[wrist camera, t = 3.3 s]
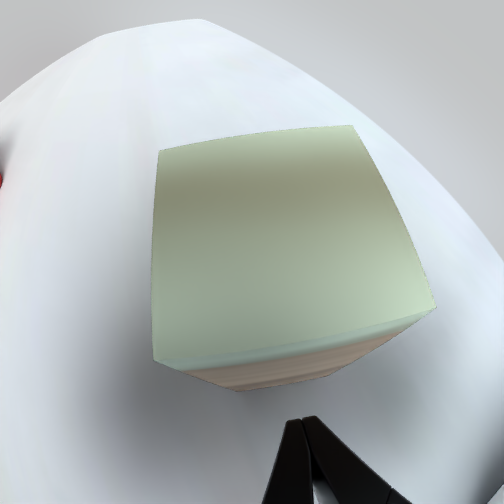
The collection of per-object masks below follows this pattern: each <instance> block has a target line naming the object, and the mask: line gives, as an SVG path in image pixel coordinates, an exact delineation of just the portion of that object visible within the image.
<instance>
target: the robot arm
mask: <svg viewBox="0 0 504 504" xmlns="http://www.w3.org/2000/svg"><path fill="white" fill-rule="evenodd" d="M313 488H314V491H315V494H316V496H317V499H318V502H319V504H412V503H411V502H410V501H409V500H407V499H406V498H405V497H403V496H402V495H401V494H400V493H399V492H397V491H396V490H395V489H394V488H391V486H390V485H389V484H388V483H387V482H386V481H385V480H383V479H382V478H381V477H380V476H379V475H378V474H377V473H376V472H374V471H373V470H372V469H371V468H370V467H369V466H368V465H367V464H366V463H365V462H364V461H362V460H361V459H360V458H359V457H358V456H357V455H356V454H355V453H354V452H353V451H352V450H351V449H350V448H349V447H348V446H347V445H345V444H344V443H343V442H342V441H341V440H340V439H339V438H338V437H337V436H336V435H335V434H334V433H333V432H332V431H331V430H330V429H329V428H328V427H327V426H326V425H325V424H324V423H323V422H322V421H321V420H320V419H319V418H318V417H317V416H309V417H304V418H302V420H301V419H294V420H289V421H287V422H286V424H285V428H284V432H283V435H282V439H281V442H280V446H279V449H278V453H277V456H276V459H275V463H274V466H273V469H272V473H271V476H270V479H269V482H268V485H267V488H266V491H265V494H264V497H263V500H262V503H261V504H314V497H313Z"/></svg>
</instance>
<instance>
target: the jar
mask: <svg viewBox="0 0 504 504" xmlns="http://www.w3.org/2000/svg"><path fill="white" fill-rule="evenodd" d="M487 504H504V484H503V485H502V486H501V488H500V489H499V490H498V491H497V493H496V494H495V495H494V496H493V497H492V498H491V500H490V501H489V502H488V503H487Z"/></svg>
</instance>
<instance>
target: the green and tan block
mask: <svg viewBox="0 0 504 504" xmlns="http://www.w3.org/2000/svg"><path fill="white" fill-rule="evenodd" d="M435 308H437V307H436V304H435V301H434V298H433V295H432V292H431V289H430V286H429V284H428V281H427V278H426V275H425V273H424V270H423V267H422V265H421V262H420V260H419V257H418V255H417V252H416V250H415V247H414V245H413V242H412V240H411V238H410V235H409V233H408V231H407V228H406V226H405V224H404V222H403V219H402V217H401V215H400V213H399V211H398V209H397V207H396V205H395V202H394V200H393V198H392V196H391V194H390V192H389V190H388V188H387V186H386V184H385V182H384V180H383V179H382V177H381V175H380V173H379V171H378V169H377V167H376V165H375V164H374V162H373V160H372V158H371V156H370V155H369V153H368V151H367V149H366V148H365V146H364V144H363V142H362V141H361V139H360V137H359V136H358V134H357V132H356V131H355V129H354V127H353V126H352V125H345V126H326V127H312V128H300V129H289V130H280V131H271V132H263V133H255V134H248V135H241V136H234V137H228V138H222V139H216V140H210V141H204V142H199V143H194V144H189V145H184V146H179V147H174V148H170V149H165V150H161V151H159V155H158V164H157V175H156V186H155V198H154V213H153V231H152V258H151V319H152V347H153V361H156V362H158V363H161V364H163V365H165V366H168V367H170V368H173V369H175V370H178V371H180V372H183V373H185V374H188V375H191V376H193V377H196V378H199V379H202V380H204V381H207V382H210V383H213V384H216V385H219V386H222V387H225V388H228V389H231V390H234V391H245V390H253V389H260V388H266V387H272V386H279V385H284V384H290V383H295V382H301V381H306V380H311V379H315V378H320V377H325V376H328V375H330V374H332V373H334V372H336V371H337V370H339V369H341V368H343V367H345V366H347V365H348V364H350V363H352V362H354V361H355V360H357V359H359V358H361V357H362V356H364V355H366V354H367V353H369V352H371V351H372V350H374V349H376V348H377V347H379V346H381V345H382V344H384V343H385V342H387V341H389V340H390V339H392V338H393V337H395V336H396V335H398V334H399V333H401V332H402V331H404V330H405V329H407V328H408V327H410V326H411V325H413V324H414V323H416V322H417V321H419V320H420V319H421V318H423V317H424V316H426V315H427V314H428V313H430V312H431V311H433V310H434V309H435Z"/></svg>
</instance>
